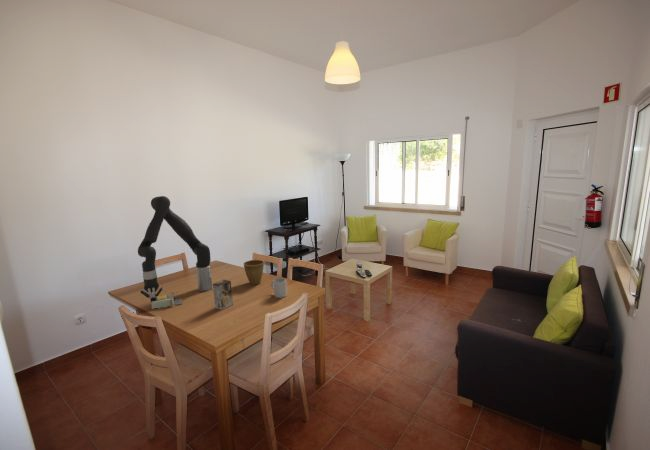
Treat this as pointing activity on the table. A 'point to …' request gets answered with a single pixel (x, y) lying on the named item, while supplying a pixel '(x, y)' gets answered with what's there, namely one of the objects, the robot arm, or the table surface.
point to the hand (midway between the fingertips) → (153, 302)
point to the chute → (166, 302)
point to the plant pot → (254, 271)
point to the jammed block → (162, 297)
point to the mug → (279, 287)
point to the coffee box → (222, 294)
